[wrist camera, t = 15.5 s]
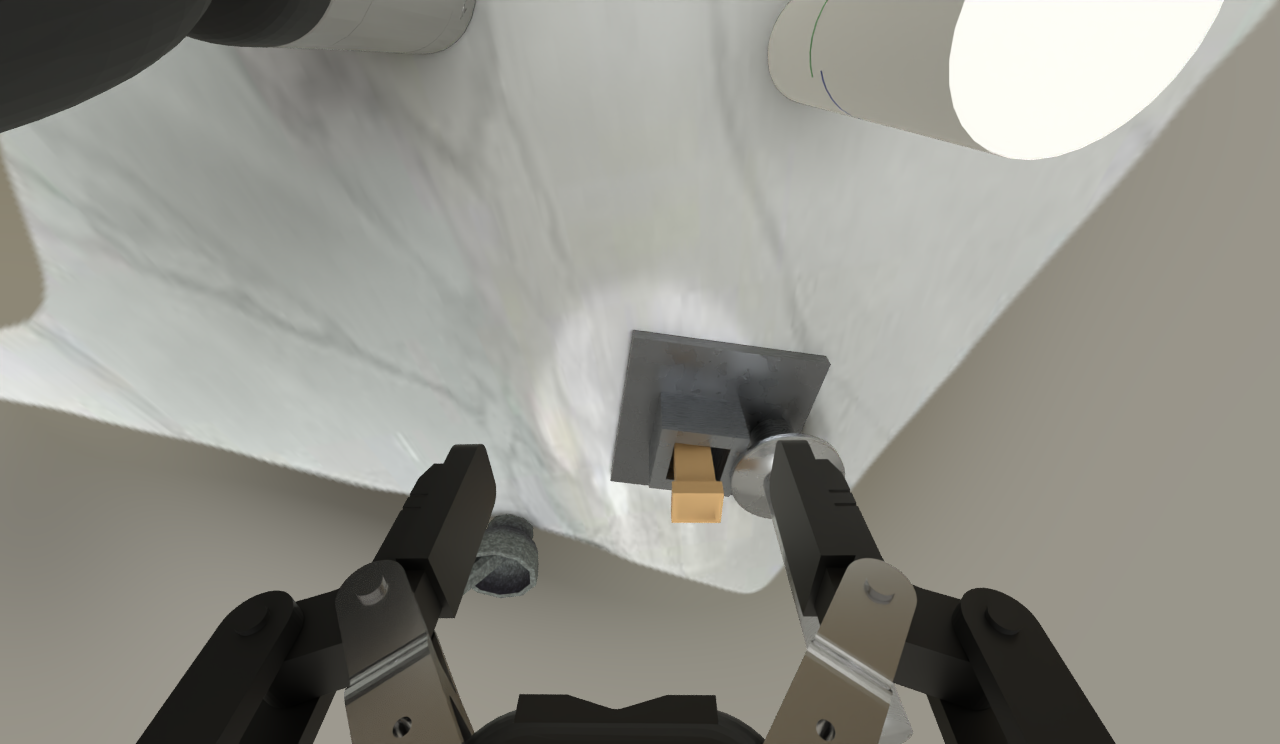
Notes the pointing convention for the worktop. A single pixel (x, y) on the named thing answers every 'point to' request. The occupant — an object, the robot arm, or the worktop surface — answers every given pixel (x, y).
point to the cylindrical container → (987, 65)
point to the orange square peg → (695, 486)
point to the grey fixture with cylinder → (725, 429)
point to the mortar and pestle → (505, 559)
